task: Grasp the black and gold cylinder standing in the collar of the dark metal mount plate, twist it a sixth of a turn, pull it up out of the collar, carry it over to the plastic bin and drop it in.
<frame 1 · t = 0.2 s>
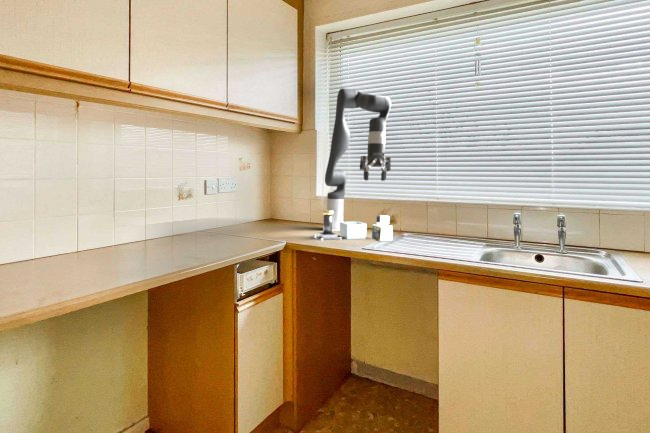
hand: (374, 180, 167), 29 cm above the countertop, fingers open, 8 cm apart
black and gold cylinder: (327, 237, 178), point 1 cm above the countertop, touching mount
mount: (327, 240, 178), on the countertop
bin: (352, 239, 183), on the countertop
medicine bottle: (381, 240, 185), on the countertop
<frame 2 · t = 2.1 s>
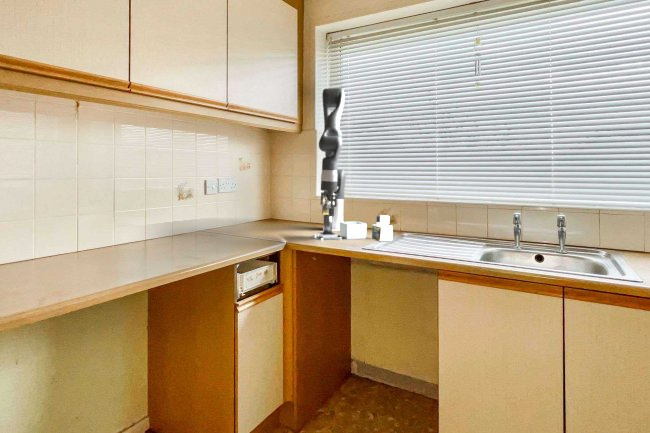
hand: (327, 215, 177), 12 cm above the countertop, fingers open, 8 cm apart
nothing on the countertop moved.
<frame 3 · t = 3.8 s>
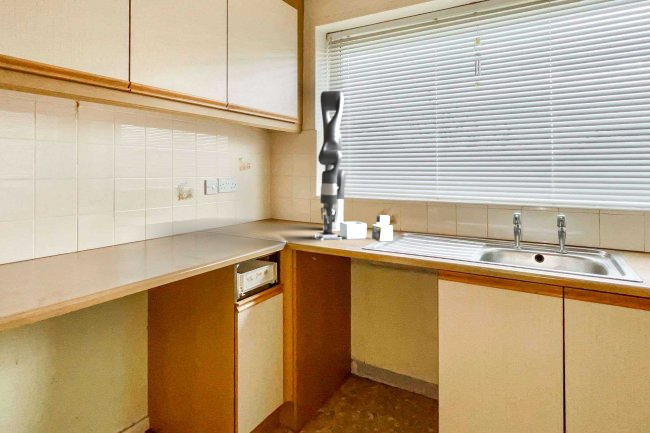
hand: (327, 230, 178), 5 cm above the countertop, fingers closed on black and gold cylinder, 4 cm apart
black and gold cylinder: (327, 237, 178), point 1 cm above the countertop, touching gripper, mount
everything else where it was.
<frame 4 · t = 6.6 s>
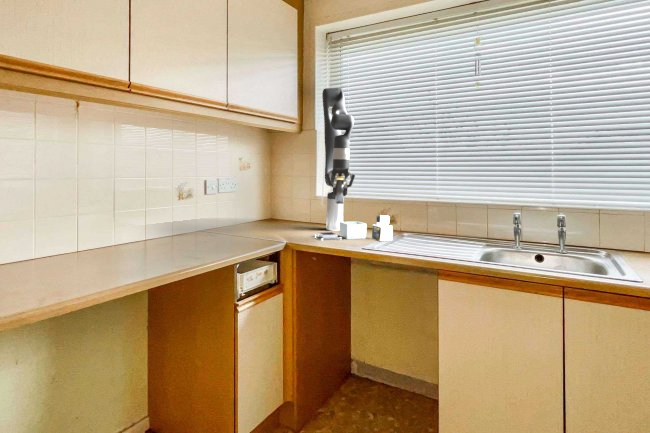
hand: (339, 195, 178), 21 cm above the countertop, fingers closed on black and gold cylinder, 4 cm apart
black and gold cylinder: (339, 203, 178), point 17 cm above the countertop, touching gripper
everything else where it was.
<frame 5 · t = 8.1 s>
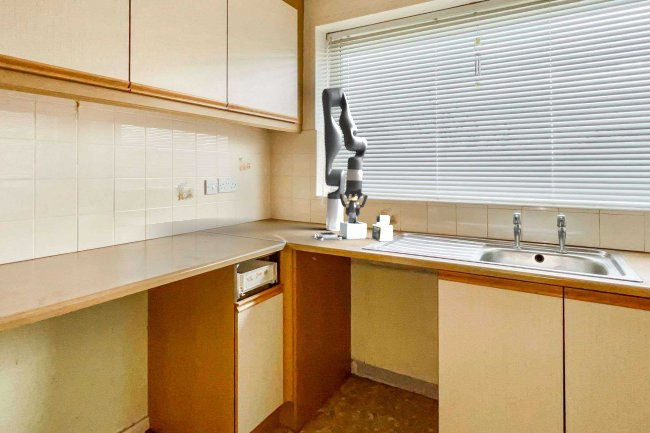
hand: (352, 215, 181), 11 cm above the countertop, fingers closed on black and gold cylinder, 4 cm apart
black and gold cylinder: (352, 223, 182), point 8 cm above the countertop, touching gripper
everything else where it was.
when the fingers open (8 cm above the countertop, at t = 9.3 s): black and gold cylinder drops 3 cm, resting on bin.
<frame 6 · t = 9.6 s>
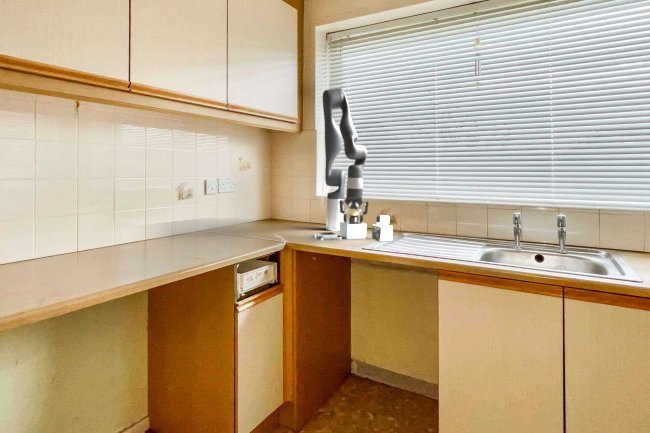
hand: (353, 222, 182), 8 cm above the countertop, fingers open, 6 cm apart
black and gold cylinder: (352, 238, 183), point 1 cm above the countertop, touching bin
everything else where it was.
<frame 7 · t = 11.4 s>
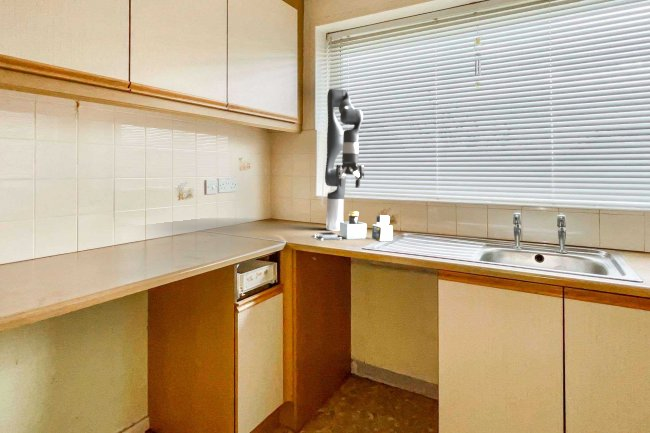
hand: (349, 187, 182), 25 cm above the countertop, fingers open, 8 cm apart
nothing on the countertop moved.
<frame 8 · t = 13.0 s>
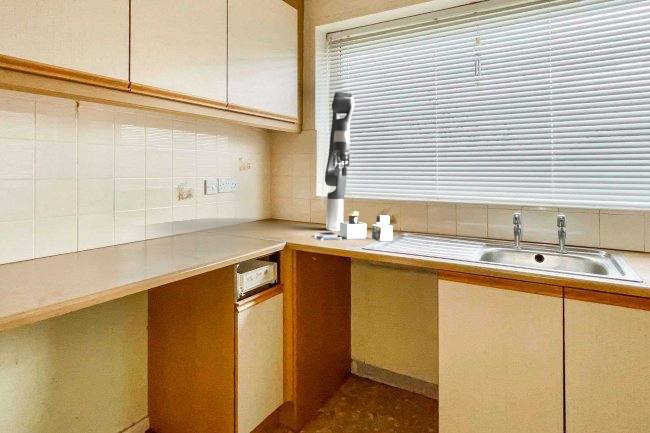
hand: (340, 175, 183), 30 cm above the countertop, fingers open, 8 cm apart
nothing on the countertop moved.
at the end: black and gold cylinder inside the target area on the bin (0.2 cm from its centre), point 0.6 cm above the bin's base; the gripper is holding nothing; black and gold cylinder touching bin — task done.
